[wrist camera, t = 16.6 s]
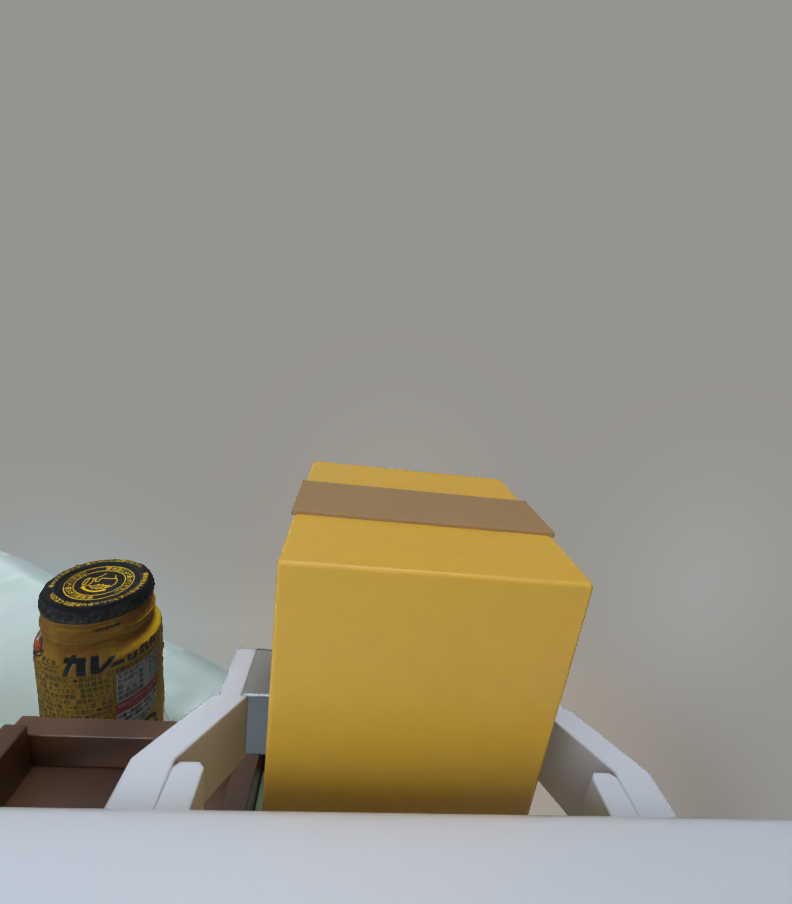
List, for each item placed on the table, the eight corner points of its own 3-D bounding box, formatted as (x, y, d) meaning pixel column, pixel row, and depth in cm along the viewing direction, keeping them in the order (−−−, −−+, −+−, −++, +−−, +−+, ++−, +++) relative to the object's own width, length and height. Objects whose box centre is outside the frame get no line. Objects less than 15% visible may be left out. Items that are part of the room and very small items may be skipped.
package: (246, 1012, 10) (273, 557, 7) (286, 779, 16) (312, 457, 12) (476, 1004, 11) (600, 581, 8) (439, 783, 16) (502, 476, 13)
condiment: (151, 688, 32) (147, 539, 28) (200, 777, 26) (202, 605, 23) (20, 747, 26) (-3, 573, 23) (46, 874, 21) (21, 669, 18)
